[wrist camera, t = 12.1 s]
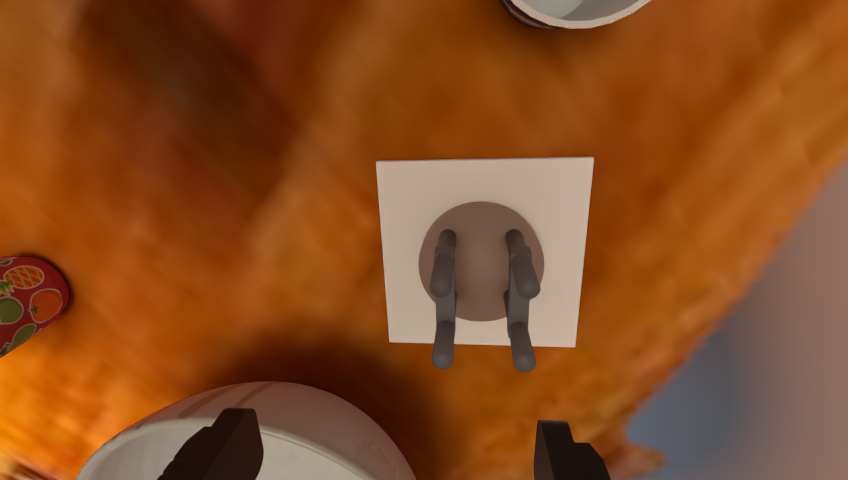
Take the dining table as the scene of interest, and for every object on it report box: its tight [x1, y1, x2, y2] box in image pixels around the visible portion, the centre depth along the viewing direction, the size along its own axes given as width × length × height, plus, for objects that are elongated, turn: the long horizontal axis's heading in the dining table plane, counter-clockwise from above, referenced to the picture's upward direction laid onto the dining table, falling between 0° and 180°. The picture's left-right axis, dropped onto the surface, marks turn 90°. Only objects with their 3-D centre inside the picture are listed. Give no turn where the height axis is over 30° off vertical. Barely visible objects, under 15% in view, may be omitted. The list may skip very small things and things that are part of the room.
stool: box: [418, 201, 544, 372], centre depth 27 cm, size 9×9×10 cm
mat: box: [376, 156, 594, 347], centre depth 32 cm, size 15×15×1 cm
